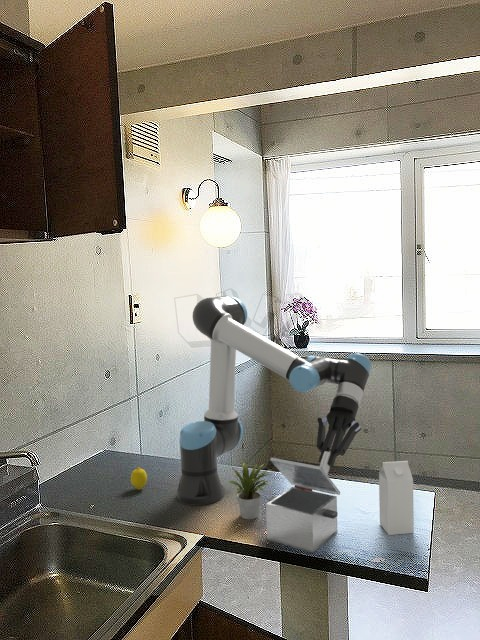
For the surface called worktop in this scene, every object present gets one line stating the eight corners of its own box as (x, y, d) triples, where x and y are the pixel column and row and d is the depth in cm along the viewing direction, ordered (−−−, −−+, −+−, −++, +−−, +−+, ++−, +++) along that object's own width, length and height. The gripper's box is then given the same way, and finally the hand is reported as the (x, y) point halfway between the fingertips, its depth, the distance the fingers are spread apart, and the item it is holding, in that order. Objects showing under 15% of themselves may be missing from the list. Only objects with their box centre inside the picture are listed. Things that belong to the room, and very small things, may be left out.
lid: (270, 460, 153) (273, 450, 154) (292, 485, 163) (295, 476, 164) (319, 470, 144) (323, 459, 145) (340, 496, 154) (343, 486, 155)
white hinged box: (258, 536, 153) (256, 501, 152) (284, 518, 164) (283, 484, 163) (323, 556, 141) (322, 517, 140) (347, 534, 153) (346, 498, 152)
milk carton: (379, 524, 158) (378, 458, 157) (404, 522, 159) (403, 456, 157) (388, 535, 151) (387, 466, 150) (414, 533, 152) (413, 465, 150)
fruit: (148, 485, 194) (146, 463, 193) (147, 491, 188) (146, 468, 188) (131, 487, 193) (130, 464, 193) (130, 493, 188) (129, 469, 187)
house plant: (260, 531, 156) (258, 474, 155) (217, 523, 162) (215, 468, 161) (280, 511, 169) (279, 458, 167) (239, 504, 175) (237, 453, 174)
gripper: (371, 411, 161) (348, 486, 149) (330, 406, 169) (305, 477, 156) (364, 396, 156) (339, 473, 144) (321, 392, 164) (295, 464, 152)
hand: (321, 475), depth 150 cm, fingers closed
